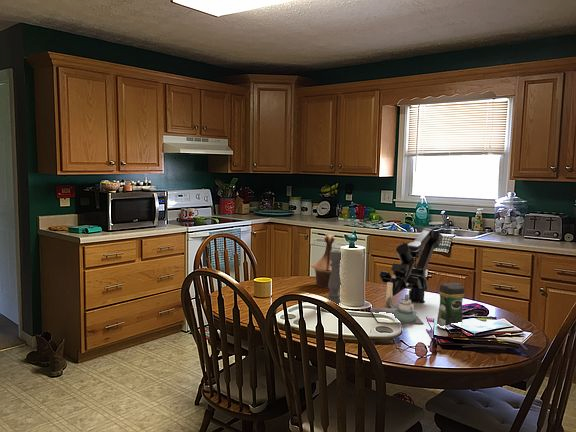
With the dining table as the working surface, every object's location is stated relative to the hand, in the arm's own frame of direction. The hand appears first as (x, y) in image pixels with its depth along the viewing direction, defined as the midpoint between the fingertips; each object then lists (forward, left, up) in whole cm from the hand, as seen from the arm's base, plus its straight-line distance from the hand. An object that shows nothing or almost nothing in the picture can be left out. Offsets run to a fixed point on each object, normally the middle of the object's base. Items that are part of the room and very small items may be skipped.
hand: (393, 295), depth 219 cm
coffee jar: (-19, +19, -8) cm, 28 cm away
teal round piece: (-3, +11, -8) cm, 14 cm away
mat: (0, +6, -8) cm, 10 cm away
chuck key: (-1, +8, -5) cm, 9 cm away
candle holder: (+25, -9, -8) cm, 28 cm away
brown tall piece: (+25, -44, -8) cm, 51 cm away
